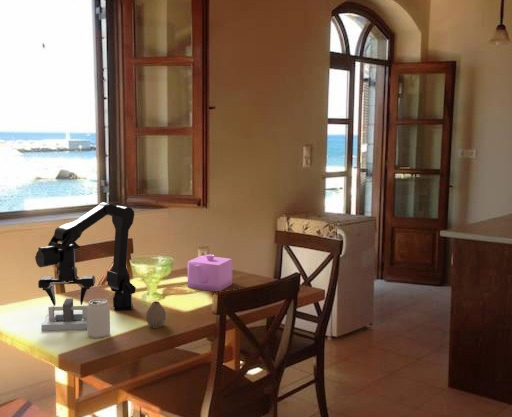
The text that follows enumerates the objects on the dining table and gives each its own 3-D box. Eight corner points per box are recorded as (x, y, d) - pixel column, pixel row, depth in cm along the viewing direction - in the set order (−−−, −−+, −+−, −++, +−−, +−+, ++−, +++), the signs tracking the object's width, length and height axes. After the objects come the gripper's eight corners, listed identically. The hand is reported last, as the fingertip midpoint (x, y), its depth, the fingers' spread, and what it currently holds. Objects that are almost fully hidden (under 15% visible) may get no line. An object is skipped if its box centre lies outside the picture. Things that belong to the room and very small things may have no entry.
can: (89, 331, 208) (88, 297, 206) (111, 331, 209) (111, 297, 207) (85, 339, 201) (84, 304, 199) (108, 338, 201) (107, 304, 200)
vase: (157, 330, 210) (156, 306, 208) (142, 327, 213) (141, 303, 212) (170, 325, 215) (169, 301, 214) (155, 321, 219) (155, 298, 218)
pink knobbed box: (179, 291, 257) (179, 259, 254) (207, 277, 279) (207, 248, 277) (210, 296, 251) (210, 263, 248) (236, 281, 273) (237, 251, 271)
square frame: (93, 316, 223) (93, 299, 222) (89, 328, 211) (88, 310, 210) (49, 318, 221) (48, 300, 220) (41, 330, 208) (40, 312, 207)
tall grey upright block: (73, 318, 219) (72, 298, 218) (70, 325, 213) (69, 304, 211) (66, 319, 219) (66, 298, 218) (63, 326, 212) (62, 304, 211)
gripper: (96, 256, 222) (97, 297, 224) (43, 257, 219) (45, 299, 221) (92, 263, 211) (94, 306, 213) (37, 264, 208) (38, 308, 211)
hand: (68, 305), depth 215 cm, fingers open, 9 cm apart
